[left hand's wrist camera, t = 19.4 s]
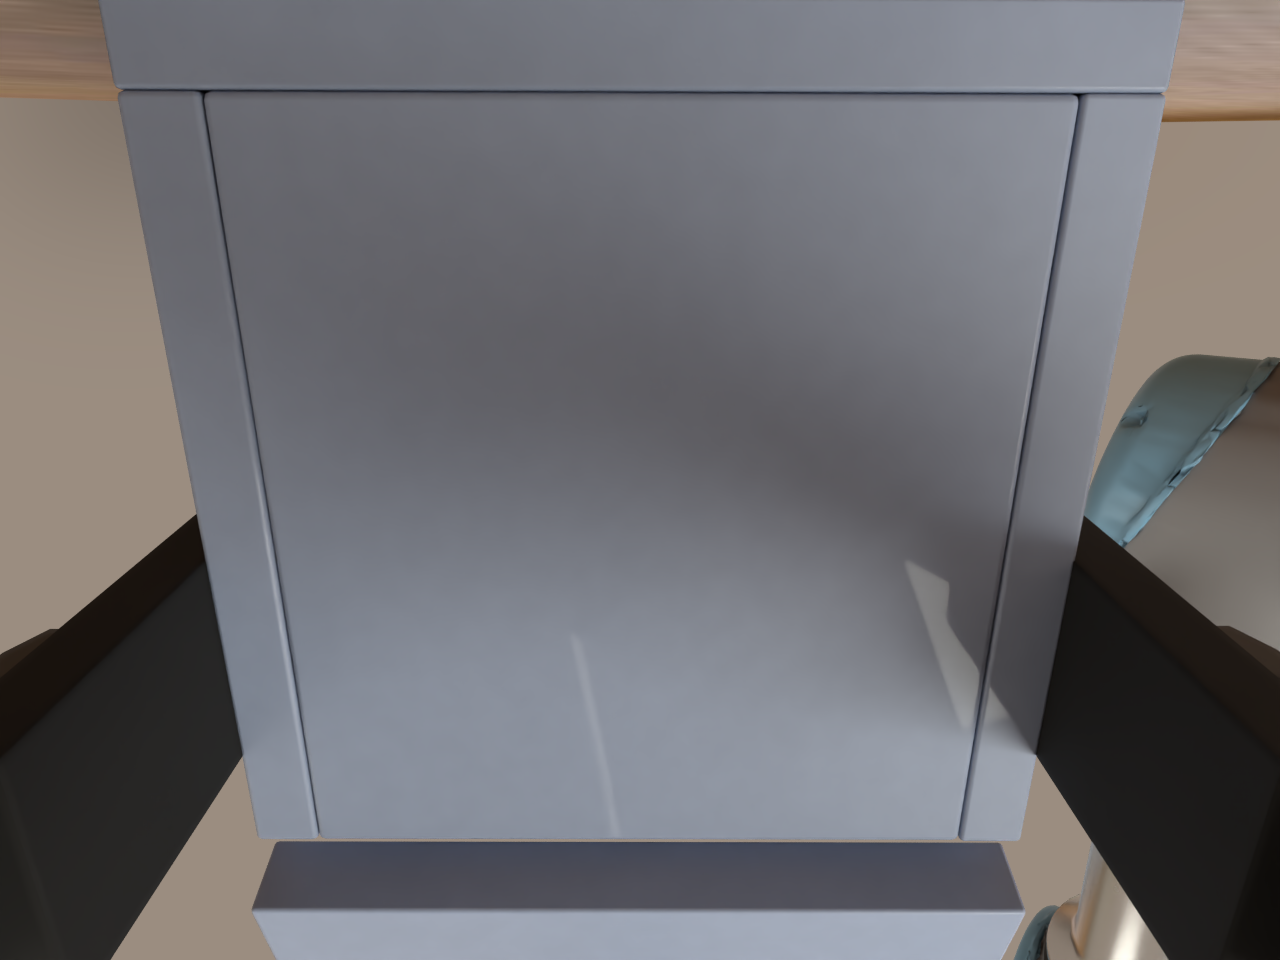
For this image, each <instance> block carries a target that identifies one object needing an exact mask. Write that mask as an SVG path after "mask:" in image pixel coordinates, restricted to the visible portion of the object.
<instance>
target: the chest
mask: <svg viewBox="0 0 1280 960" xmlns="http://www.w3.org/2000/svg"><path fill="white" fill-rule="evenodd" d="M98 2H99V7H100V12H101V18H102V23H103V28H104V33H105V39H106V44H107V49H108V55H109V60H110V65H111V70H112V76H113V81H114V84H115V86H116V87H117V88H119V89H122V90H123V91H121V92H119V93H118V102H119V107H120V112H121V117H122V123H123V128H124V133H125V139H126V144H127V149H128V155H129V160H130V165H131V170H132V176H133V181H134V186H135V191H136V197H137V202H138V207H139V213H140V218H141V223H142V228H143V234H144V239H145V244H146V249H147V255H148V260H149V265H150V271H151V276H152V281H153V286H154V292H155V297H156V302H157V307H158V313H159V318H160V323H161V329H162V334H163V339H164V344H165V350H166V355H167V360H168V366H169V371H170V376H171V381H172V387H173V392H174V397H175V402H176V408H177V413H178V418H179V424H180V429H181V434H182V439H183V444H184V450H185V455H186V460H187V466H188V471H189V476H190V481H191V487H192V492H193V497H194V503H195V508H196V513H197V519H198V524H199V529H200V534H201V540H202V545H203V550H204V555H205V561H206V566H207V571H208V577H209V582H210V587H211V592H212V598H213V603H214V608H215V613H216V619H217V624H218V629H219V635H220V640H221V645H222V650H223V655H224V661H225V666H226V671H227V676H228V681H229V687H230V692H231V697H232V702H233V707H234V713H235V718H236V723H237V728H238V733H239V739H240V744H241V749H242V754H243V761H244V766H245V772H246V777H247V782H248V788H249V793H250V798H251V803H252V808H253V814H254V819H255V824H256V830H257V835H258V837H259V838H261V839H314V838H316V837H317V836H318V835H319V833H320V835H321V836H322V837H323V838H389V839H390V838H391V839H392V838H395V839H919V840H921V839H922V840H923V839H924V840H928V839H929V840H952V839H955V838H956V837H957V836H959V838H960V839H961V840H963V841H1017V840H1019V839H1020V836H1021V831H1022V826H1023V821H1024V815H1025V811H1026V805H1027V800H1028V795H1029V790H1030V785H1031V780H1032V775H1033V770H1034V765H1035V760H1036V753H1037V748H1038V743H1039V738H1040V732H1041V727H1042V722H1043V717H1044V712H1045V707H1046V701H1047V696H1048V691H1049V686H1050V681H1051V676H1052V670H1053V665H1054V660H1055V655H1056V650H1057V645H1058V639H1059V634H1060V629H1061V624H1062V619H1063V614H1064V608H1065V603H1066V598H1067V593H1068V588H1069V583H1070V578H1071V572H1072V567H1073V562H1074V561H1075V557H1076V552H1077V546H1078V541H1079V536H1080V531H1081V526H1082V521H1083V516H1084V511H1085V506H1086V501H1087V496H1088V491H1089V486H1090V480H1091V475H1092V470H1093V465H1094V460H1095V455H1096V450H1097V445H1098V440H1099V435H1100V430H1101V425H1102V419H1103V414H1104V409H1105V404H1106V399H1107V394H1108V389H1109V384H1110V379H1111V374H1112V369H1113V363H1114V359H1115V353H1116V348H1117V343H1118V338H1119V333H1120V328H1121V323H1122V318H1123V313H1124V308H1125V303H1126V297H1127V293H1128V287H1129V282H1130V277H1131V272H1132V267H1133V262H1134V257H1135V252H1136V247H1137V242H1138V237H1139V232H1140V227H1141V222H1142V216H1143V211H1144V206H1145V201H1146V196H1147V191H1148V186H1149V181H1150V176H1151V171H1152V166H1153V161H1154V155H1155V150H1156V145H1157V140H1158V135H1159V130H1160V125H1161V120H1162V115H1163V110H1164V105H1165V96H1164V95H1162V94H1160V93H1162V92H1165V91H1166V90H1167V88H1168V86H1169V81H1170V76H1171V71H1172V66H1173V61H1174V56H1175V50H1176V45H1177V40H1178V35H1179V30H1180V25H1181V20H1182V15H1183V10H1184V5H1185V2H1184V0H98Z"/></svg>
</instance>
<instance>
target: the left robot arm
mask: <svg viewBox="0 0 1280 960" xmlns="http://www.w3.org/2000/svg"><path fill="white" fill-rule="evenodd" d="M242 756H243V754H242V749H241V744H240V739H239V733H238V728H237V723H236V718H235V713H234V707H233V702H232V697H231V692H230V687H229V681H228V676H227V671H226V666H225V661H224V655H223V650H222V645H221V640H220V635H219V629H218V624H217V619H216V613H215V608H214V603H213V598H212V592H211V587H210V582H209V577H208V571H207V566H206V561H205V555H204V550H203V545H202V540H201V534H200V529H199V524H198V519H197V514H196V515H195V516H193V517H192V518H191V519H190V520H189V521H187V522H186V523H185V524H184V525H183V526H182V527H180V528H179V529H178V530H177V531H176V532H174V533H173V534H172V535H171V536H170V537H168V538H167V539H166V540H165V541H164V542H162V543H161V544H160V545H159V546H158V547H156V548H155V549H154V550H153V551H152V552H150V553H149V554H148V555H147V556H146V557H144V558H143V559H142V560H141V561H140V562H138V563H137V564H136V565H135V566H134V567H132V568H131V569H130V570H129V571H128V572H126V573H125V574H124V575H123V576H122V577H120V578H119V579H118V580H117V581H116V582H114V583H113V584H112V585H111V586H110V587H108V588H107V589H106V590H105V591H104V592H102V593H101V594H100V595H99V596H98V597H96V598H95V599H94V600H93V601H92V602H90V603H89V604H88V605H87V606H86V607H84V608H83V609H82V610H81V611H80V612H79V613H77V614H76V615H75V616H74V617H72V618H71V619H70V620H69V621H68V622H67V623H65V624H64V625H63V626H62V627H61V628H59V629H49V630H47V631H45V632H43V633H41V634H39V635H37V636H35V637H33V638H31V639H29V640H27V641H25V642H23V643H21V644H19V645H17V646H15V647H13V648H11V649H10V650H8V651H6V652H4V653H2V654H1V655H0V960H111V958H112V956H113V955H114V953H115V952H116V950H117V949H118V947H119V946H120V944H121V943H122V941H123V940H124V938H125V936H126V935H127V933H128V932H129V930H130V929H131V927H132V926H133V924H134V923H135V921H136V919H137V918H138V916H139V915H140V913H141V912H142V910H143V909H144V907H145V906H146V904H147V902H148V901H149V899H150V898H151V896H152V895H153V893H154V892H155V890H156V889H157V887H158V886H159V884H160V882H161V881H162V879H163V878H164V876H165V875H166V873H167V872H168V870H169V869H170V867H171V865H172V864H173V862H174V861H175V859H176V858H177V856H178V855H179V853H180V851H181V850H182V849H183V847H184V845H185V844H186V842H187V841H188V839H189V838H190V836H191V835H192V833H193V832H194V830H195V828H196V827H197V825H198V824H199V822H200V821H201V819H202V818H203V816H204V815H205V813H206V811H207V810H208V808H209V807H210V805H211V804H212V802H213V801H214V799H215V798H216V796H217V795H218V793H219V791H220V790H221V788H222V787H223V785H224V784H225V782H226V781H227V779H228V777H229V776H230V774H231V773H232V771H233V770H234V768H235V767H236V765H237V764H238V762H239V760H240V759H241V758H242ZM1036 756H1037V757H1038V759H1039V761H1040V762H1041V764H1042V765H1043V767H1044V768H1045V770H1046V771H1047V773H1048V774H1049V776H1050V777H1051V779H1052V781H1053V782H1054V784H1055V785H1056V787H1057V788H1058V790H1059V791H1060V793H1061V794H1062V796H1063V798H1064V799H1065V801H1066V802H1067V804H1068V805H1069V807H1070V808H1071V810H1072V811H1073V813H1074V815H1075V816H1076V818H1077V819H1078V821H1079V822H1080V824H1081V825H1082V827H1083V828H1084V830H1085V831H1086V833H1087V835H1088V836H1089V838H1090V839H1091V841H1092V842H1093V844H1094V845H1095V847H1096V849H1097V850H1098V852H1099V853H1100V855H1101V856H1102V858H1103V859H1104V861H1105V862H1106V864H1107V865H1108V867H1109V869H1110V870H1111V872H1112V873H1113V875H1114V876H1115V878H1116V879H1117V881H1118V882H1119V884H1120V886H1121V887H1122V889H1123V890H1124V892H1125V893H1126V895H1127V896H1128V898H1129V899H1130V901H1131V903H1132V904H1133V906H1134V907H1135V909H1136V910H1137V912H1138V913H1139V915H1140V916H1141V918H1142V919H1143V921H1144V923H1145V924H1146V926H1147V927H1148V929H1149V930H1150V932H1151V933H1152V935H1153V936H1154V938H1155V940H1156V941H1157V943H1158V944H1159V946H1160V947H1161V949H1162V950H1163V952H1164V953H1165V955H1166V957H1167V958H1168V960H1280V651H1278V650H1277V649H1275V648H1273V647H1271V646H1269V645H1267V644H1265V643H1263V642H1261V641H1259V640H1257V639H1255V638H1253V637H1251V636H1249V635H1247V634H1245V633H1243V632H1241V631H1239V630H1237V629H1235V628H1233V627H1231V626H1216V625H1215V624H1214V623H1212V622H1211V621H1210V620H1209V619H1208V618H1206V617H1205V616H1204V615H1203V614H1202V613H1200V612H1199V611H1198V610H1197V609H1196V608H1194V607H1193V606H1192V605H1191V604H1190V603H1188V602H1187V601H1186V600H1185V599H1184V598H1182V597H1181V596H1180V595H1179V594H1178V593H1176V592H1175V591H1174V590H1173V589H1172V588H1170V587H1169V586H1168V585H1167V584H1166V583H1165V582H1163V581H1162V580H1161V579H1160V578H1159V577H1157V576H1156V575H1155V574H1154V573H1153V572H1151V571H1150V570H1149V569H1148V568H1147V567H1145V566H1144V565H1143V564H1142V563H1141V562H1139V561H1138V560H1137V559H1136V558H1135V557H1133V556H1132V555H1131V554H1130V553H1129V552H1127V551H1126V550H1125V549H1124V548H1123V547H1121V546H1120V545H1119V544H1118V543H1117V542H1115V541H1114V540H1113V539H1112V538H1111V537H1109V536H1108V535H1107V534H1106V533H1105V532H1103V531H1102V530H1101V529H1100V528H1099V527H1097V526H1096V525H1095V524H1094V523H1093V522H1091V521H1090V520H1089V519H1088V518H1087V517H1085V516H1083V521H1082V526H1081V531H1080V536H1079V541H1078V546H1077V552H1076V557H1075V561H1074V562H1073V567H1072V572H1071V578H1070V583H1069V588H1068V593H1067V598H1066V603H1065V608H1064V614H1063V619H1062V624H1061V629H1060V634H1059V639H1058V645H1057V650H1056V655H1055V660H1054V665H1053V670H1052V676H1051V681H1050V686H1049V691H1048V696H1047V701H1046V707H1045V712H1044V717H1043V722H1042V727H1041V732H1040V738H1039V743H1038V748H1037V753H1036Z"/></svg>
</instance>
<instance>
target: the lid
mask: <svg viewBox="0 0 1280 960" xmlns="http://www.w3.org/2000/svg"><path fill="white" fill-rule="evenodd" d="M252 914H253V915H254V918H255V920H256V921H257V923H258V925H259V927H260V929H261V931H262V933H263V935H264V937H265V939H266V941H267V943H268V945H269V947H270V949H271V951H272V953H273V955H274V957H275V958H276V960H1001V959H1002V957H1003V955H1004V953H1005V951H1006V949H1007V947H1008V946H1009V944H1010V942H1011V940H1012V938H1013V936H1014V934H1015V932H1016V930H1017V928H1018V926H1019V924H1020V923H1021V921H1022V919H1023V917H1024V915H1025V908H1024V906H1023V903H1022V900H1021V897H1020V894H1019V891H1018V889H1017V886H1016V883H1015V880H1014V877H1013V875H1012V872H1011V869H1010V866H1009V864H1008V861H1007V858H1006V855H1005V852H1004V850H1003V847H1002V845H1001V844H1000V843H833V842H830V843H829V842H828V843H827V842H824V843H823V842H299V841H296V842H294V841H293V842H292V841H280V842H277V843H276V844H275V846H274V849H273V852H272V854H271V857H270V860H269V863H268V865H267V868H266V871H265V874H264V877H263V879H262V882H261V885H260V888H259V890H258V893H257V896H256V899H255V901H254V904H253V907H252Z"/></svg>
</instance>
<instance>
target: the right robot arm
mask: <svg viewBox="0 0 1280 960" xmlns="http://www.w3.org/2000/svg"><path fill="white" fill-rule="evenodd" d="M1279 361H1280V358H1275V357H1267V358H1265V359H1264V360H1257V359H1246V358H1234V357H1223V356H1212V355H1186V356H1181V357H1178V358H1175V359H1173V360H1171V361H1169V362H1167V363H1166V364H1164V365H1163V366H1161V367H1160V368H1159V369H1157V370H1156V371H1155V372H1154V373H1153V374H1152V375H1151V376H1150V377H1149V378H1148V379H1147V380H1146V382H1145V383H1144V384H1143V385H1142V387H1141V388H1140V389H1139V391H1138V392H1137V394H1136V395H1135V397H1134V398H1133V400H1132V401H1131V403H1130V405H1129V406H1128V408H1127V409H1126V411H1125V413H1124V415H1123V416H1122V418H1121V420H1120V422H1119V424H1118V426H1117V428H1116V430H1115V432H1114V433H1113V435H1112V437H1111V440H1110V442H1109V444H1108V446H1107V448H1106V450H1105V452H1104V454H1103V457H1102V459H1101V461H1100V463H1099V466H1098V468H1097V471H1096V473H1095V476H1094V478H1093V481H1092V483H1091V486H1090V489H1089V491H1088V496H1087V501H1086V506H1085V511H1084V516H1085V517H1087V518H1088V519H1089V520H1090V521H1091V522H1093V523H1094V524H1095V525H1096V526H1097V527H1099V528H1100V529H1101V530H1102V531H1103V532H1105V533H1106V534H1107V535H1108V536H1109V537H1111V538H1112V539H1113V540H1114V541H1115V542H1117V543H1118V544H1119V545H1120V546H1121V547H1123V548H1124V549H1125V550H1126V551H1127V552H1129V553H1130V554H1131V555H1132V556H1133V557H1135V558H1136V559H1137V560H1138V561H1139V562H1141V563H1142V564H1143V565H1144V566H1145V567H1147V568H1148V569H1149V570H1150V571H1151V572H1153V573H1154V574H1155V575H1156V576H1157V577H1159V578H1160V579H1161V580H1162V581H1163V582H1165V583H1166V584H1167V585H1168V586H1169V587H1170V588H1172V589H1173V590H1174V591H1175V592H1176V593H1178V594H1179V595H1180V596H1181V597H1182V598H1184V599H1185V600H1186V601H1187V602H1188V603H1190V604H1191V605H1192V606H1193V607H1194V608H1196V609H1197V610H1198V611H1199V612H1200V613H1202V614H1203V615H1204V616H1205V617H1206V618H1208V619H1209V620H1210V621H1211V622H1212V623H1214V624H1215V625H1216V626H1231V627H1233V628H1235V629H1237V630H1239V631H1241V632H1243V633H1245V634H1247V635H1249V636H1251V637H1253V638H1255V639H1257V640H1259V641H1261V642H1263V643H1265V644H1267V645H1269V646H1271V647H1273V648H1275V649H1277V650H1278V651H1280V362H1279ZM1014 960H1168V958H1167V957H1166V955H1165V953H1164V952H1163V950H1162V949H1161V947H1160V946H1159V944H1158V943H1157V941H1156V940H1155V938H1154V936H1153V935H1152V933H1151V932H1150V930H1149V929H1148V927H1147V926H1146V924H1145V923H1144V921H1143V919H1142V918H1141V916H1140V915H1139V913H1138V912H1137V910H1136V909H1135V907H1134V906H1133V904H1132V903H1131V901H1130V899H1129V898H1128V896H1127V895H1126V893H1125V892H1124V890H1123V889H1122V887H1121V886H1120V884H1119V882H1118V881H1117V879H1116V878H1115V876H1114V875H1113V873H1112V872H1111V870H1110V869H1109V867H1108V865H1107V864H1106V862H1105V861H1104V859H1103V858H1102V856H1101V855H1100V853H1099V852H1098V850H1097V849H1096V847H1095V845H1094V844H1093V842H1091V847H1090V852H1089V857H1088V862H1087V867H1086V872H1085V877H1084V882H1083V887H1082V892H1081V894H1078V895H1076V896H1074V897H1072V898H1070V899H1069V900H1067V901H1066V902H1065V903H1064V904H1062V905H1061V906H1060V907H1058V906H1055V905H1054V906H1047V907H1045V908H1043V909H1042V910H1041V911H1039V912H1038V913H1037V914H1036V916H1035V917H1034V918H1033V920H1032V921H1031V923H1030V924H1029V926H1028V928H1027V930H1026V931H1025V933H1024V936H1023V938H1022V940H1021V942H1020V945H1019V947H1018V950H1017V953H1016V955H1015V958H1014Z"/></svg>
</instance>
